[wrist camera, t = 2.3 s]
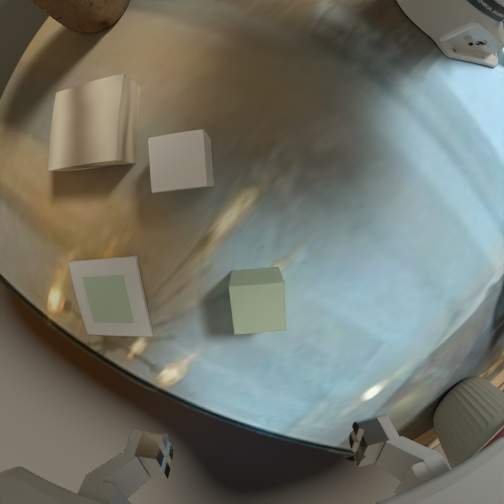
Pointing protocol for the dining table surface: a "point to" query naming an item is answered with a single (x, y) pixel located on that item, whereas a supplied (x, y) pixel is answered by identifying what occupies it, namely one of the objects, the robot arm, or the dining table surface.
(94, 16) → the block
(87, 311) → the card
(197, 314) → the dining table surface
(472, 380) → the canister
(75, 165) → the base block
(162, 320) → the dining table surface
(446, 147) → the dining table surface
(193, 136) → the offwhite cube
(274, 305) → the sage cube
